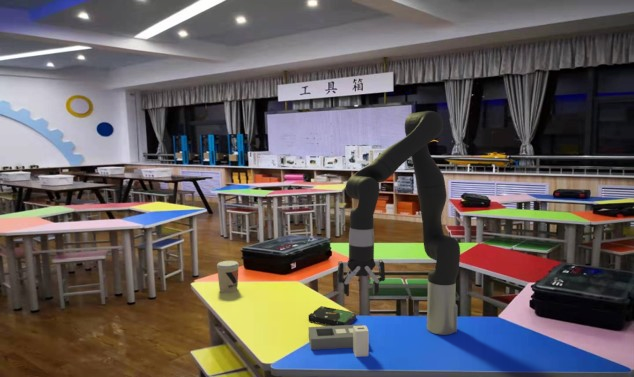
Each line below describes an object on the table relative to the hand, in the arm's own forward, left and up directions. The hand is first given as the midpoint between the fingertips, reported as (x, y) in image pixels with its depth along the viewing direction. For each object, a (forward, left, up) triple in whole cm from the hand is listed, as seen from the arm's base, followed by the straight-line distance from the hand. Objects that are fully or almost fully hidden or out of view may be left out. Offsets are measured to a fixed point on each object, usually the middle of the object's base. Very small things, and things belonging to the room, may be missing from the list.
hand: (360, 294), depth 134 cm
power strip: (+6, -9, -19) cm, 21 cm away
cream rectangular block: (0, 0, -19) cm, 19 cm away
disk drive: (+5, -27, -19) cm, 33 cm away
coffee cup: (+46, -65, -19) cm, 81 cm away
